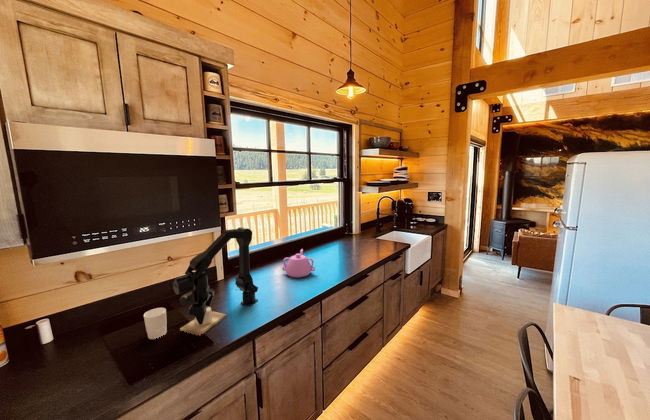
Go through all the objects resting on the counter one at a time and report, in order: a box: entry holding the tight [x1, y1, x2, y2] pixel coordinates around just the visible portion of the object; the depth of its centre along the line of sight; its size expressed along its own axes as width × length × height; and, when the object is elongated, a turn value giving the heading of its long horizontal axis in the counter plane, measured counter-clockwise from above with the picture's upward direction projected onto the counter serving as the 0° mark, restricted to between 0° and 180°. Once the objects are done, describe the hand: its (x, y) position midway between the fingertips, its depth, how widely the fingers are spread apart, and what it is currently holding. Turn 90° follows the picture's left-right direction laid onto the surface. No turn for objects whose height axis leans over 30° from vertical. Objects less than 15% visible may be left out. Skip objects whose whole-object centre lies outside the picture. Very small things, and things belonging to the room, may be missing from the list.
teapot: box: [281, 248, 316, 278], centre depth 176 cm, size 22×22×14 cm
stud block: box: [179, 310, 227, 337], centre depth 119 cm, size 16×11×5 cm
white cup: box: [143, 307, 168, 340], centre depth 111 cm, size 8×8×10 cm
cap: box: [194, 306, 212, 325], centre depth 119 cm, size 7×7×6 cm
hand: (203, 318), depth 119 cm, fingers open, 9 cm apart
